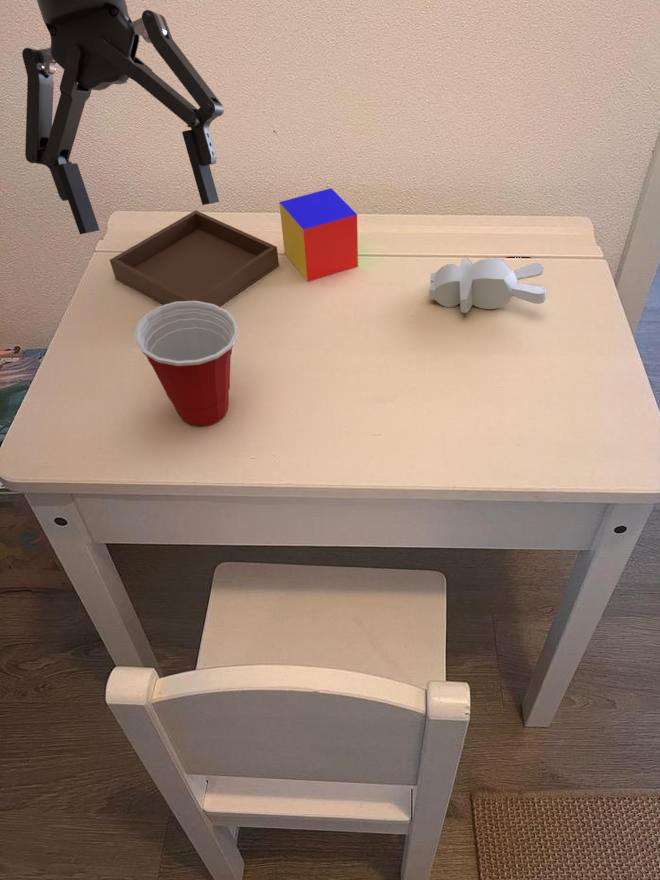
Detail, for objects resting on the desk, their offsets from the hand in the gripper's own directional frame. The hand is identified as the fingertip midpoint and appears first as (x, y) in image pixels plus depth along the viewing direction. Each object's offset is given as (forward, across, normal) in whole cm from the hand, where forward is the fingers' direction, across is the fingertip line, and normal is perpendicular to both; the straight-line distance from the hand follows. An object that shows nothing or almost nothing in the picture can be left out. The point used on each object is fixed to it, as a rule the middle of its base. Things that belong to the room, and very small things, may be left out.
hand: (149, 218), depth 72 cm
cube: (+10, -8, -34) cm, 36 cm away
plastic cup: (+22, +2, -4) cm, 22 cm away
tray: (+8, +9, -28) cm, 31 cm away
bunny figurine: (+19, -30, -29) cm, 46 cm away
